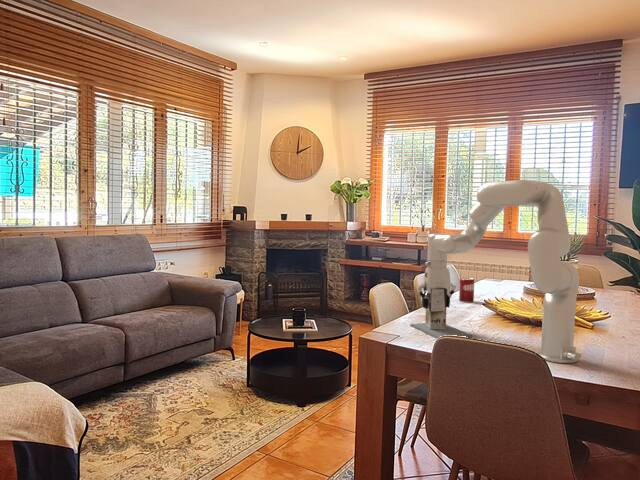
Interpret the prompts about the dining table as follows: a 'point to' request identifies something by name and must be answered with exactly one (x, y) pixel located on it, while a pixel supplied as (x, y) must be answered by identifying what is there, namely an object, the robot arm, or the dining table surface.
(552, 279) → the robot arm
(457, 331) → the mat
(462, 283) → the soda can
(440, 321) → the coffee box
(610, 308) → the dining table surface
